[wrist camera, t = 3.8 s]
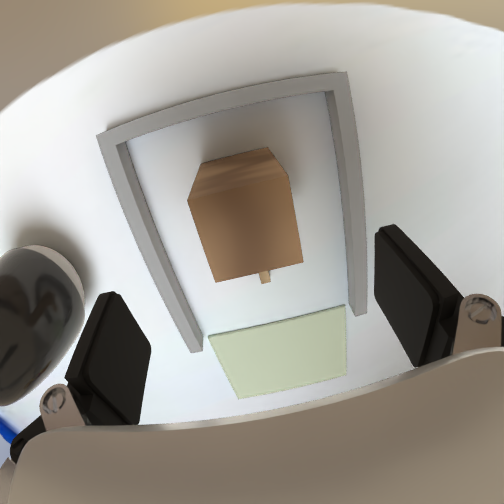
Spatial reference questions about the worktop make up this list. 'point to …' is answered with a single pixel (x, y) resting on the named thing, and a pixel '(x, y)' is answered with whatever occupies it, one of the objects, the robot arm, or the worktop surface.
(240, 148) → the worktop surface
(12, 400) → the dark grey tall ovoid
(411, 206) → the worktop surface
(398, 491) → the robot arm
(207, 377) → the worktop surface
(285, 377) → the mat
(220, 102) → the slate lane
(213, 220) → the walnut block
